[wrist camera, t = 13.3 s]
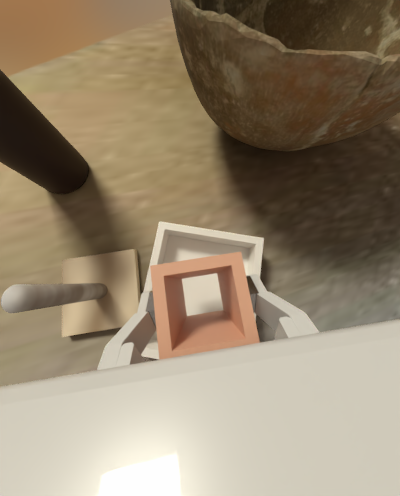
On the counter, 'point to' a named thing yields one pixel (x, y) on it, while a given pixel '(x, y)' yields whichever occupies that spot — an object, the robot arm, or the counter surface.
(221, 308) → the tray
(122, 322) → the peg stand
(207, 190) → the counter surface
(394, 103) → the bowl
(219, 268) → the sleeve
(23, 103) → the bottle
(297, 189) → the counter surface
